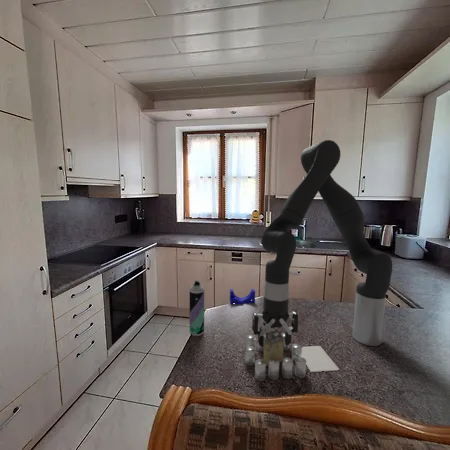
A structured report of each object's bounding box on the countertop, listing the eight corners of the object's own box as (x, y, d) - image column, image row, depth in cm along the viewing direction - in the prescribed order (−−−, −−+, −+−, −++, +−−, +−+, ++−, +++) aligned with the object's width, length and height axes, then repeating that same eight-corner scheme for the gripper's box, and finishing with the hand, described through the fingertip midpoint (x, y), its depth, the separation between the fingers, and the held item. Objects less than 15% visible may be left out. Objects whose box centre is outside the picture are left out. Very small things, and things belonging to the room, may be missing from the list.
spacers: (291, 344, 89) (292, 332, 88) (312, 377, 73) (313, 363, 72) (240, 347, 87) (241, 335, 86) (250, 381, 71) (251, 366, 70)
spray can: (186, 331, 96) (186, 281, 93) (198, 326, 100) (198, 277, 97) (195, 337, 92) (195, 284, 89) (207, 332, 96) (207, 281, 93)
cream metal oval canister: (277, 354, 83) (278, 325, 82) (286, 360, 80) (287, 331, 79) (260, 361, 79) (261, 331, 78) (268, 368, 76) (270, 337, 75)
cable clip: (230, 304, 120) (230, 292, 120) (229, 300, 125) (229, 289, 124) (255, 304, 121) (255, 292, 120) (253, 300, 126) (254, 288, 125)
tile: (320, 346, 88) (320, 345, 88) (339, 370, 76) (339, 369, 76) (295, 348, 87) (295, 347, 87) (310, 372, 75) (310, 371, 75)
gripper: (294, 289, 82) (291, 337, 84) (250, 290, 80) (249, 339, 82) (303, 299, 74) (300, 351, 76) (256, 300, 73) (254, 353, 75)
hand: (274, 344), depth 79 cm, fingers open, 7 cm apart
